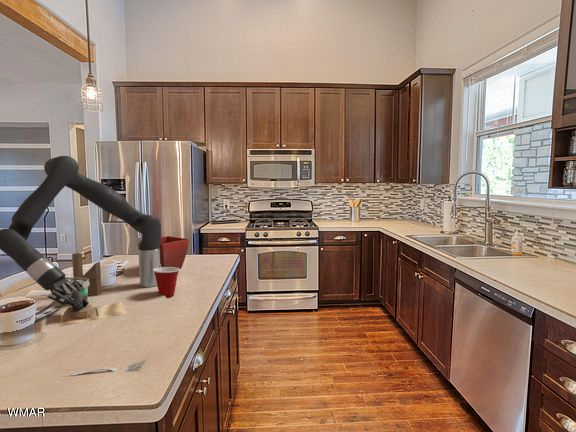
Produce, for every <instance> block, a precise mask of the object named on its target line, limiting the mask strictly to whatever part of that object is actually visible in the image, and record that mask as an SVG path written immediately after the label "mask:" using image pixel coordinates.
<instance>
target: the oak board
mask: <svg viewBox="0 0 576 432" xmlns="http://www.w3.org/2000/svg"><path fill="white" fill-rule="evenodd" d="M91 309H92V311H91V313H90V315H89V316H88V318H85V319H76V320H66V321H64V312H65V311H63V312H60V324H59V326H60V327H64V326H69V325H75V324H76V325H77V324H80V323H85V322H91V321H97V320H101V319H102V320H103V319H107V318H113V317H117V316H123V315H127V314H128V313H127V311H126V308H125V306H124V304H123V302H122V301H121V302H116V303H115V302H114V303H111V304H110V303H109V304H103V305H98V306H93V307H92V306H91Z"/></svg>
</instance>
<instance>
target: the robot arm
mask: <svg viewBox="0 0 576 432" xmlns="http://www.w3.org/2000/svg"><path fill="white" fill-rule="evenodd" d="M43 169H44V172H45V174H46V177H45V179H44V180H43V182H42V183H41V184H40V185H39V186H38V187H37V188H36V189H35V190H34V191H33V192H31V194H30V195H29V196H27V198H25V200H24V201H23V202H22V203H21V204H20V206H18V208H17V210H16V211H15V212H14V214H13V215H12V217H11V223H10V226H9V227H8V228H2V229H0V251H2V252H3V253H4V254H6V255H7V256H8V257H9V258H11V259H12V260H13V261H14V262H15V263H16V264H17V265H18V267H20V269H22V270H23V271H25V273H27V275H28V276H29V277H30V279H32V280H33V281H34V282H36V283H37V284H38V285H39V286H40V287H41V288H43V290H45V291H50V294H49V295H48V296H47V297H48V299H50V300H51V301H54V302H56V303H58V304H60V305H61V306H66V305H67V306H68V305H69V306H72V307H73V308H74V309H75V310H77V311H80V310H81V309H82V308H83V307H86V306H87V305H90V304H89V301H88V299H87V300H86V299H85V298H83V306H82V305H81V304H80V303H79V302H78V301H77V300H74V298H73V297H72V293H71V291H73V292H75V291H83V290H82V289H81V287H80V286H79V284H78V283H77V281H73V282H69V281H68V280H66V279H67V278H66V274H65V272H63V270H61V269H60V268H59V267H58V266H57V265H55V263H54V262H52V261H51V260H50V259H48V258H46V257H45V256H44V255H43V254H42V253H41V252H40V251H39V250H37V248H34V247H33V246H32V245H31V244H30V243H28V241H27V240H28V238H29V236H30V235H31V233H32V230H33V228H34V227H35V225H36V224H37V223H38V222H39V220H40V218H41V217H42V215H43V214H44V213H45V211H46V210H47V209H48V207H49V206H50V205H51V203H52V202H53V201H54V199H55V198H56V197H57V196H58V194H60V193H61V191H62V190H63V189H64V188H65V187H67V188H69V189H71V190H72V191H74V192H76V193H77V194H78V195H81V196H82V197H83V198H85V199H86V200H87V201H90V202H91V203H93V205H95V206H97V207H98V208H99V209H102V210H103V211H105V212H107V213H108V214H110V215H112V216H114V217H116V218H117V219H120V220H122V221H123V222H125V223H126V224H128V226H130V227H131V228H133V229H134V230H135V231H136V232H138V233H139V234H141V240H142V241H141V242H140V241H139V243H138V244H137V246H138V247H137V248H138V249H137V250H138V269H139V286H140V287H142V288H152V287H157V282H156V277H155V274H154V271H153V269H155V268H161V264H160V250H159V245H160V242H161V237H162V224H161V220H160V219H159V217H158V216H156V215H152V214H145V213H143V212H141V211H139V210H137V208H134V207H133V206H131V204H130V203H129V202H128V200H127V199H125V197H124V196H123V195H122V194H120V193H119V192H118V191H116V190H114V189H113V188H111V187H110V186H108V185H106V184H104V183H101V182H99V181H96V180H94V179H91V178H89V177H86V176H85V175H84V174H81V173H80V172H79V170H80V166H79V164H78V162H77V160H76V159H74V158H73V157H72V156H68V155H59V156H56V157H52V158H50V159H48V160H46V162H45V163H44V166H43Z"/></svg>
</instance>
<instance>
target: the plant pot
mask: <svg viewBox="0 0 576 432" xmlns="http://www.w3.org/2000/svg"><path fill="white" fill-rule="evenodd" d="M141 241H142V239H140V240H139V243H140V242H141ZM189 243H190V239H189V238H186V237H185V238H184V237H176V236H171V235H170V236H169V235H168V236H166V235H165V236H161V242H160V245H159V250H160V264H161V267H176V268H179V269H182V268H183V265H184V264H185V263H184V262H185V259H186V257H187V254H188V253H187V252H188V250H189V249H188V248H189Z"/></svg>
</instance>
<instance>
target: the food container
mask: <svg viewBox="0 0 576 432" xmlns="http://www.w3.org/2000/svg"><path fill="white" fill-rule="evenodd" d="M65 279H66V280H68V281H69V282H73V281H77V283H78V284H79V286H80V287H81V289H82V290H83V298H85V299H86V300H87V301H88V296H89V295H88V286H89V285H90V283H89V279H87V278H81V277H78V278H73V277H71V278H65ZM72 292H73V291H71V293H72Z"/></svg>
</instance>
